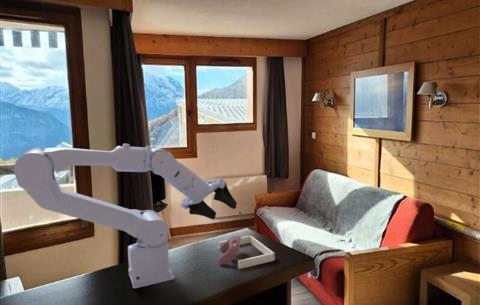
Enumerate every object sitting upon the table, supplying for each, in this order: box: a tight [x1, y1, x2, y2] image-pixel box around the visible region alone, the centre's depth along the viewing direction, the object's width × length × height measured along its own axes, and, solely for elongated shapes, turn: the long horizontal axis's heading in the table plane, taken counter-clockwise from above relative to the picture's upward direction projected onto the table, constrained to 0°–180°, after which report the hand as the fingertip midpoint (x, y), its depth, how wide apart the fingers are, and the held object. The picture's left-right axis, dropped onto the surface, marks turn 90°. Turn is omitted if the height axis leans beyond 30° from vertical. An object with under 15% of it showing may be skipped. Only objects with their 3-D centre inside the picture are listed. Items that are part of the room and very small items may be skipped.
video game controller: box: [218, 234, 242, 266], centre depth 93 cm, size 10×5×7 cm, turn 179°
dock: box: [217, 235, 276, 270], centre depth 95 cm, size 11×14×2 cm
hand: (224, 211), depth 90 cm, fingers open, 7 cm apart
